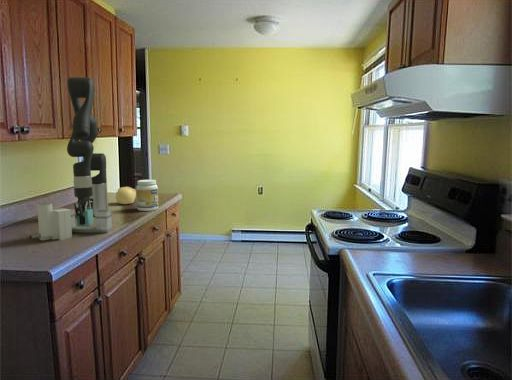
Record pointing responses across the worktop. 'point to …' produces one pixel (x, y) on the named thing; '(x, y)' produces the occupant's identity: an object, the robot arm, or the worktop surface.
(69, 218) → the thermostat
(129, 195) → the pale yellow ball
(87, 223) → the block
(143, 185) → the supplement tub
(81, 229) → the rail
